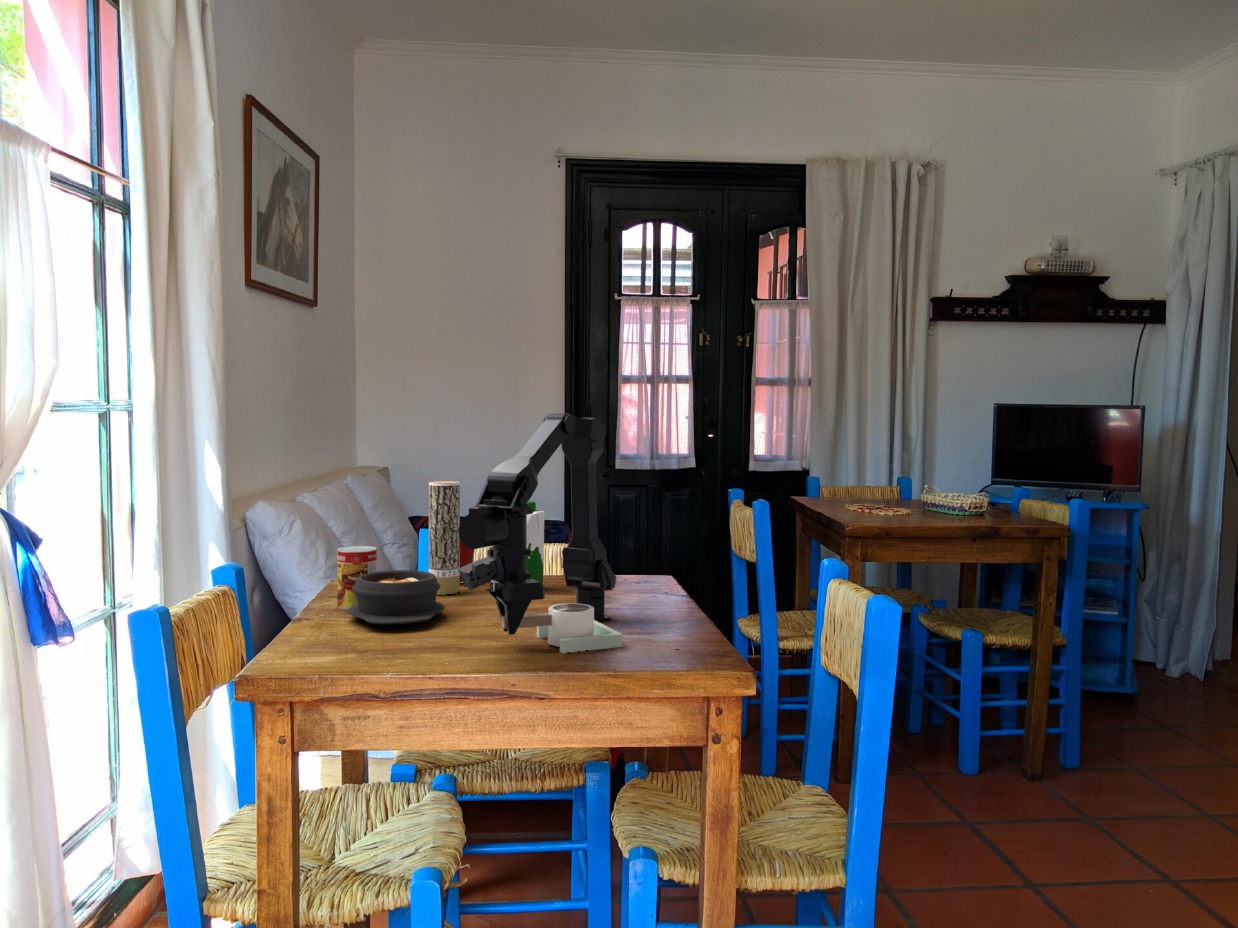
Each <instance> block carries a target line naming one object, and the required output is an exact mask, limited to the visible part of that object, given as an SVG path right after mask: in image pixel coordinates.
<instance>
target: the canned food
mask: <svg viewBox="0 0 1238 928" xmlns="http://www.w3.org/2000/svg"><path fill="white" fill-rule="evenodd" d="M377 549H378V548H377V547H375V546H371V545H370V546H369V545H368V546H367V545H353V546H344V547H338V548H337V549H336V550H337V555H336V557H337V559H336V560H337V563H336V565H337V570H336V571H337V607H338V608H339V609H342V610H347V611H348V609H349V608H350V607H352V606H354V605H356V604H357V600H356V595H355V593H354V592H353V590H352V587H353V586H354V585H355V584H356V581H357V578H358V577H359V576H361V575H364V574H368V573H373V572H378V571H377V570H378V561H377V560H378V557H377V555H378V553H377V551H378V550H377Z"/></svg>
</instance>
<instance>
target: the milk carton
mask: <svg viewBox="0 0 1238 928" xmlns="http://www.w3.org/2000/svg"><path fill="white" fill-rule="evenodd" d="M526 503H527V505H528V506H530V507H531V508H532V509H533V514H528V515H527V547H526V548H528V549H530V555H526V572H529V573H530V579H534V580H536V581H538V582H540V583H541V584H542V585H543V586H544V566H545V565H544V563H545V561H544V559H545V518H546V517H545V515H546V511H545V510H538V509H537V507H536V505H537V504H536V501H531V500H529V501H528V502H526Z"/></svg>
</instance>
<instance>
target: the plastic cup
mask: <svg viewBox="0 0 1238 928" xmlns="http://www.w3.org/2000/svg"><path fill="white" fill-rule="evenodd" d="M475 550H476V549H470V548H467V547H466V546H465V545H464V544H463V543H462V541H461V540H460V568H461V567H463V566H465V565H468V564H470V563H472V562H474V556H475ZM460 582H462V579H461V576H460Z"/></svg>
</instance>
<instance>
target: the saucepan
mask: <svg viewBox="0 0 1238 928" xmlns="http://www.w3.org/2000/svg"><path fill="white" fill-rule="evenodd" d="M500 623H501V624H500V625H501V628H502V629H503V628H504V629H506V628H507V623H506V615H504V616H502V622H501V621H500ZM537 626H548V638H547V643H548V644H549V645H551V646H555V647H557V648H560V639H564V638H574V637H583V636H593V635H594V607H592V606H590V605H585V604H576V602H575V603H574V602H573V603H568V602H567V603H557V604H553V605H550V606H549V607H548V612H539V613H525V614H524V616H523V618H522V620H521V622H520V624H519V627H518V628H531V627H532V628H533V627H537Z"/></svg>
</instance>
